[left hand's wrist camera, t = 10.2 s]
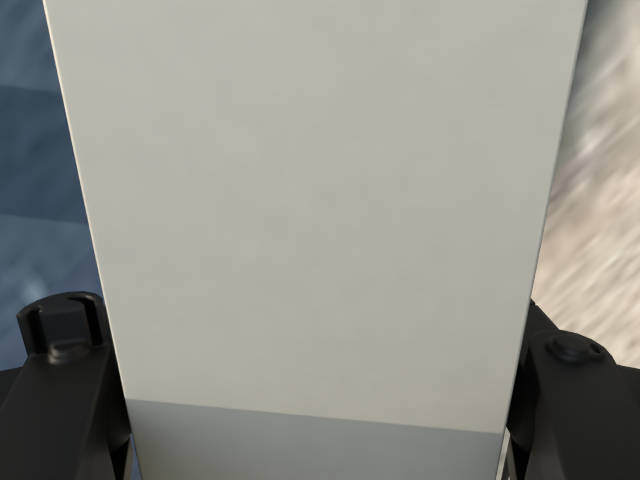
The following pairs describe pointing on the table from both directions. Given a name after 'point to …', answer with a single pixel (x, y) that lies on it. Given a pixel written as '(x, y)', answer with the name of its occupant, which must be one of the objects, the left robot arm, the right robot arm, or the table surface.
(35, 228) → the table surface
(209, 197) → the bar
